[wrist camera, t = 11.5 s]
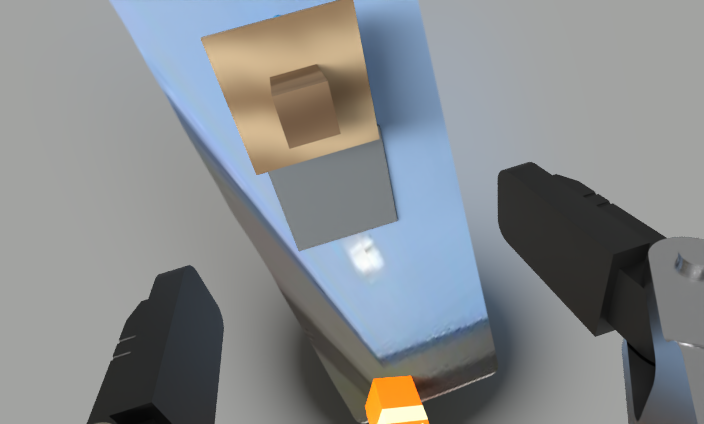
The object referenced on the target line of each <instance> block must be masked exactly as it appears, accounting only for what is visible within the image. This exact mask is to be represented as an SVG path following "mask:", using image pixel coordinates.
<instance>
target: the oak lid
mask: <svg viewBox="0 0 704 424" xmlns="http://www.w3.org/2000/svg"><path fill="white" fill-rule="evenodd" d="M201 41H202V43H203V46H204V48H205V50H206V53H207V55H208V58H209V60H210V63H211V65H212V68H213V70H214V72H215V75H216V77H217V80H218V82H219V85H220V87H221V89H222V92H223V94H224V97H225V99H226V102H227V104H228V107H229V109H230V111H231V114H232V116H233V119H234V121H235V124H236V126H237V128H238V131H239V133H240V136H241V138H242V141H243V143H244V146H245V148H246V150H247V153H248V155H249V158H250V160H251V163H252V165H253V167H254V170H255V172H256V175H259V174H262V173H266V172H269V171H273V170H276V169H279V168H283V167H286V166H290V165H293V164H296V163H300V162H303V161H307V160H310V159H313V158H317V157H320V156H323V155H327V154H330V153H334V152H337V151H340V150H344V149H347V148H351V147H354V146H357V145H361V144H364V143H368V142H371V141H374V140H378V139H380V138H379V133H378V128H377V122H376V117H375V112H374V107H373V101H372V96H371V91H370V86H369V80H368V75H367V70H366V65H365V59H364V54H363V49H362V44H361V38H360V33H359V28H358V23H357V17H356V12H355V7H354V2H353V0H336V1H333V2H329V3H325V4H322V5H318V6H314V7H311V8H307V9H303V10H300V11H296V12H292V13H289V14H285V15H281V16H278V17H274V18H270V19H267V20H263V21H259V22H256V23H252V24H248V25H245V26H241V27H237V28H234V29H230V30H226V31H223V32H219V33H215V34H212V35H208V36H204V37H202V38H201Z"/></svg>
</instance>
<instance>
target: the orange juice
mask: <svg viewBox="0 0 704 424" xmlns="http://www.w3.org/2000/svg"><path fill="white" fill-rule="evenodd" d="M365 409H366V413H367V417H368V421H369V424H429V422H428V418H427V416H426V413H425V410H424V408H423V405H422V403H421V401H420V398H419V395H418V393H417V390H416V388H415V385H414V382H413V380H412V377H411V376H402V377H389V378H376V379H373V383H372V386H371V389H370V393H369V396H368V399H367V402H366V406H365Z"/></svg>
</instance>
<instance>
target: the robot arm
mask: <svg viewBox="0 0 704 424" xmlns="http://www.w3.org/2000/svg"><path fill="white" fill-rule="evenodd" d="M498 223H499V228H500V230H501V233H502V235H503V237H504V239H505V240H506V241H507V242H508V244H509V245H510V246H511V247H512V248H513V249H514V250H515V251H516V252H517V253H518V254H519V255H520V257H521V258H522V259H524V261H525V262H526V263H527V264H528V265H529V266H530V267H531V268H532V269H533V270H534V271H535V273H536V274H537V275H538V276H539V277H540V278H541V279H542V280H543V281H544V282H545V283H546V284H547V285H548V287H550V289H551V290H552V291H553V292H554V293H555V294H556V295H557V296H558V297H559V298H560V299H561V301H562V302H563V303H564V304H565V305H566V306H567V307H568V308H569V309H570V310H571V311H572V312H573V313H574V314H575V316H576V317H577V318H578V319H579V320H580V321H581V322H582V323H583V324H584V325H585V326H586V327H587V328H588V329H589V331H590V332H591V333H592V334H593V335H594V336H595V337H596V336H599V335H602V334H605V333H608V332H610V331H614V330H616V331H617V332H618V333H619V334H620V335H621V336H622V337H623V338H624V339H623V342H622V357H623V368H624V379H625V389H626V401H627V412H628V423H629V424H704V239H699V238H692V237H672V238H666V237H664V236H663V235H661V234H660V233H658V232H657V231H655V230H654V229H652V228H650V227H649V226H647V225H646V224H644V223H642V222H641V221H640V220H638V219H636V218H635V217H633V216H632V215H630V214H628V213H627V212H626V211H624V210H622V209H621V208H619V207H618V206H616V205H614V204H610V203H609V201H608V200H607V199H605V198H604V197H602V196H601V195H599V194H597V195H596V194H595V192H594V191H593V190H591V189H590V188H588V187H587V186H585V185H584V184H582V183H580V182H579V181H576V180H573V179H570V178H567V177H564V176H560V175H557V174H555V175H551V174H549V173H548V172H546V171H545V170H544V169H542V168H541V167H539V166H538V165H536V164H535V163H532V162H528V163H524V164H521V165H518V166H515V167H511V168H508V169H505V170H502V171H500V173H499V175H498ZM223 331H224V327H223V319H222V315H221V312H220V309H219V307H218V305H217V304H216V302H215V300H214V299H213V297H212V295H211V294H210V292H209V291H208V289H207V287H206V286H205V284H204V282H203V281H202V279H201V277H200V276H199V274H198V273H197V271H196V270H195V268H194V267H192V266H190V265H189V266H185V267H182V268H178V269H175V270H172V271H168V272H165V273H162V274H159V275H158V276H157V277H156V279H155V281H154V284H153V287H152V290H151V293H150V296H149V299H148V300H144V301H141V303H140V304H139V305H138V306H137V308H136V309H135V310H134V311H133V313H132V314H131V315H130V317H129V318H128V319H127V321H126V323H125V325H124V328H123V331H122V333H121V336H120V338H119V341H120V343H119V344H117V346H116V349H115V352H114V354H113V360H112V361H111V362H110V365H109V367H108V370H107V372H106V375H105V378H104V381H103V383H102V386H101V388H100V391H99V393H98V396H97V399H96V401H95V404H94V406H93V409H92V412H91V414H90V417H89V420H88V422H87V424H214V423H215V412H216V402H217V393H218V383H219V373H220V362H221V352H222V342H223Z"/></svg>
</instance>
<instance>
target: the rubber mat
mask: <svg viewBox="0 0 704 424" xmlns="http://www.w3.org/2000/svg"><path fill="white" fill-rule="evenodd" d="M377 128H378V133H379V138H380V139H378V140H374V141H371V142H368V143H364V144H361V145H357V146H354V147H351V148H347V149H344V150H340V151H337V152H334V153H330V154H327V155H323V156H320V157H317V158H313V159H310V160H307V161H303V162H300V163H296V164H293V165H290V166H286V167H283V168H279V169H276V170H273V171H269V172H268V173H269V176H270V179H271V181H272V184H273V186H274V189H275V191H276V194H277V197H278V199H279V202H280V204H281V207H282V209H283V212H284V214H285V217H286V220H287V222H288V225H289V227H290V230H291V232H292V235H293V237H294V240H295V243H296V245H297V248H298V250H299V251H302V250H305V249H308V248H311V247H314V246H318V245H321V244H324V243H327V242H331V241H334V240H337V239H340V238H344V237H347V236H350V235H353V234H357V233H360V232H363V231H366V230H370V229H373V228H376V227H379V226H382V225H386V224H389V223H392V222H395V221H397V216H396V211H395V206H394V200H393V195H392V190H391V184H390V179H389V174H388V169H387V163H386V158H385V153H384V147H383V142H382V137H381V131H380V126H379V125H377Z"/></svg>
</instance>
